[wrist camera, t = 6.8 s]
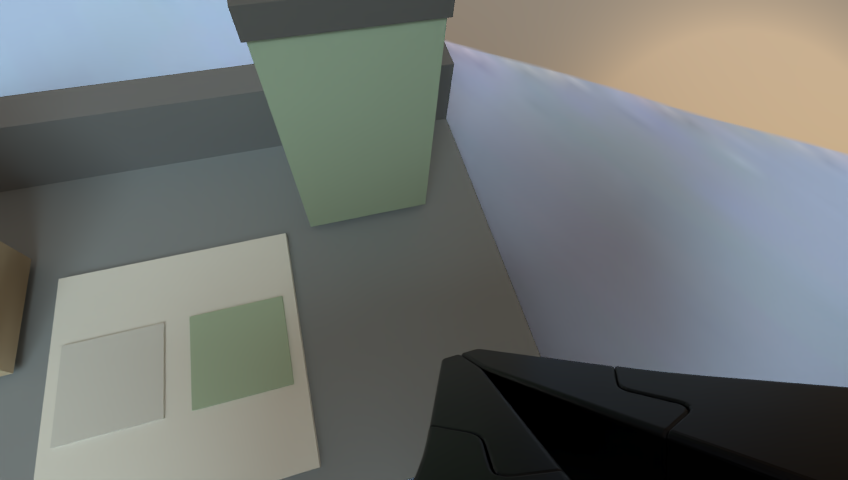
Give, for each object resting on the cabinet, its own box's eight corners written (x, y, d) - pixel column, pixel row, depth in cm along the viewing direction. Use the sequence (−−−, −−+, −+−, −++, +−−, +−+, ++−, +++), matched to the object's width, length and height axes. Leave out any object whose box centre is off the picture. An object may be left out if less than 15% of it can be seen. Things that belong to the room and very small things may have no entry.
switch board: (553, 431, 15) (611, 418, 11) (-272, 694, 11) (-660, 826, 7) (434, 118, 21) (443, 39, 18) (-105, 206, 17) (-252, 129, 13)
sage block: (428, 205, 17) (457, -19, 9) (308, 229, 16) (227, 6, 8) (402, 127, 19) (407, -114, 11) (293, 145, 18) (216, -103, 10)
